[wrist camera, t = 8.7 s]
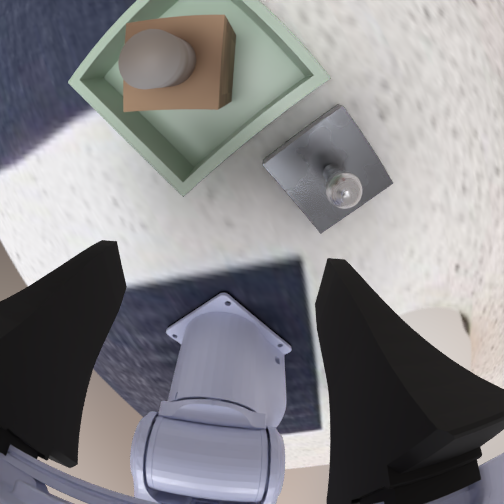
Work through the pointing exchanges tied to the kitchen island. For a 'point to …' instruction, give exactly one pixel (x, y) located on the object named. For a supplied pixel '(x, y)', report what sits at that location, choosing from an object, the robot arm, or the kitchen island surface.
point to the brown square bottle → (178, 63)
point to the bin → (203, 120)
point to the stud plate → (328, 169)
